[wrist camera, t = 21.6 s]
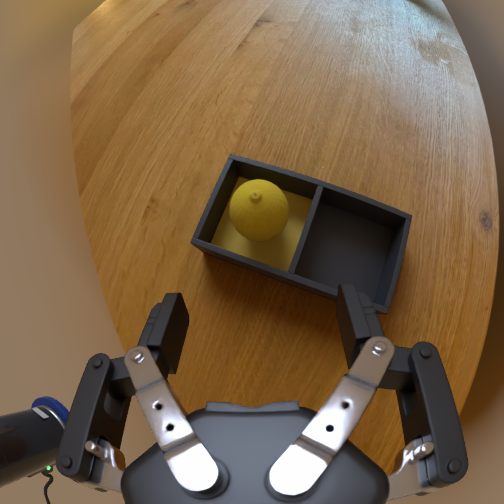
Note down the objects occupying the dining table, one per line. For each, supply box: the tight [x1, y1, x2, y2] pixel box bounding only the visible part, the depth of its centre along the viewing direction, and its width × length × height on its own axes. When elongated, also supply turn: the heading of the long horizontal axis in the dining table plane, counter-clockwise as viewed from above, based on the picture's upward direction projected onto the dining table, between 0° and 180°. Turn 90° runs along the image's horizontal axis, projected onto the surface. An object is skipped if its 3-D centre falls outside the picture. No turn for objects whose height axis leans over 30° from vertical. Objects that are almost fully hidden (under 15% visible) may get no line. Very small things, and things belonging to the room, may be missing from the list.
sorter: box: [191, 154, 412, 314], centre depth 28 cm, size 10×20×4 cm, turn 68°
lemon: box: [230, 179, 289, 242], centre depth 26 cm, size 6×6×8 cm
